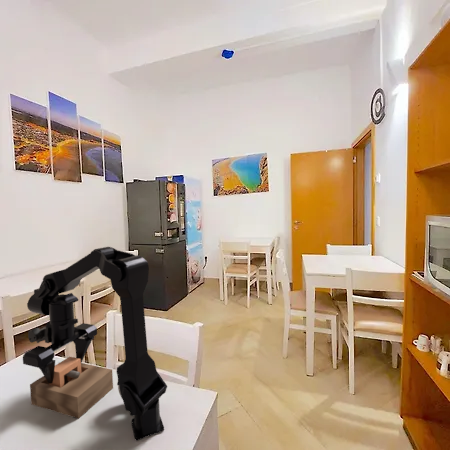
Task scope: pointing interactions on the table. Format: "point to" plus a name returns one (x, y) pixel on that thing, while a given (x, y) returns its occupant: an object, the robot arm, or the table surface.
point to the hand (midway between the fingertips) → (65, 372)
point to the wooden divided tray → (73, 391)
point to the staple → (65, 370)
